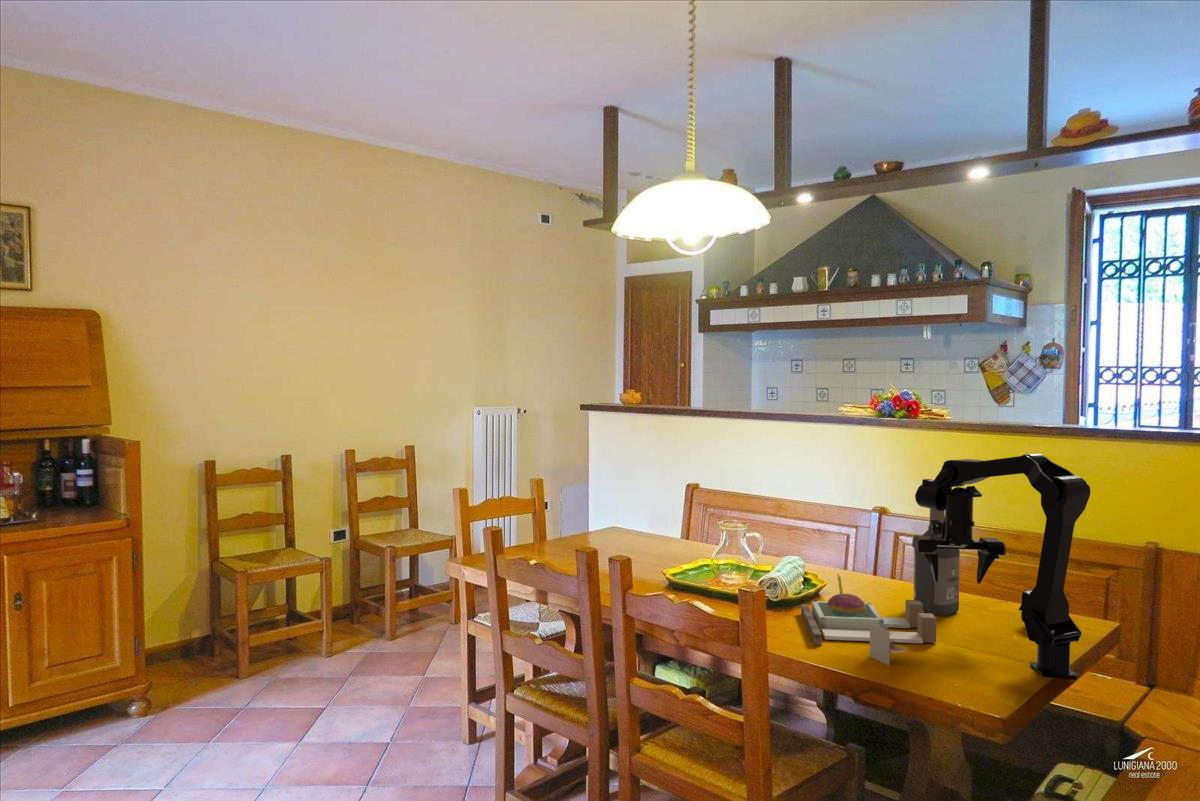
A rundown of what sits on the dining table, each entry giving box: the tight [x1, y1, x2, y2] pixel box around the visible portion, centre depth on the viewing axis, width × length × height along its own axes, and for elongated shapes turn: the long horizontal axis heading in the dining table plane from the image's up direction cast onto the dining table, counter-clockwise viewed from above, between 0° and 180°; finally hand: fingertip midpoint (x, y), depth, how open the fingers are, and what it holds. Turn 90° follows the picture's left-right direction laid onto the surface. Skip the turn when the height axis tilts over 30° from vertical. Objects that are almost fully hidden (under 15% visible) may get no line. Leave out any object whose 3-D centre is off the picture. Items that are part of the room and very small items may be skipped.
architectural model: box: [869, 624, 907, 666], centre depth 162 cm, size 3×7×7 cm, turn 22°
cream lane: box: [821, 612, 937, 644], centre depth 175 cm, size 5×24×6 cm, turn 83°
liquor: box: [913, 508, 961, 617], centre depth 197 cm, size 9×9×30 cm
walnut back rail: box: [800, 603, 823, 647], centre depth 182 cm, size 23×2×2 cm, turn 173°
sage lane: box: [811, 599, 924, 631], centre depth 186 cm, size 13×24×6 cm, turn 83°
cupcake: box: [827, 573, 865, 617], centre depth 186 cm, size 9×8×12 cm
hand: (957, 582), depth 177 cm, fingers open, 9 cm apart
